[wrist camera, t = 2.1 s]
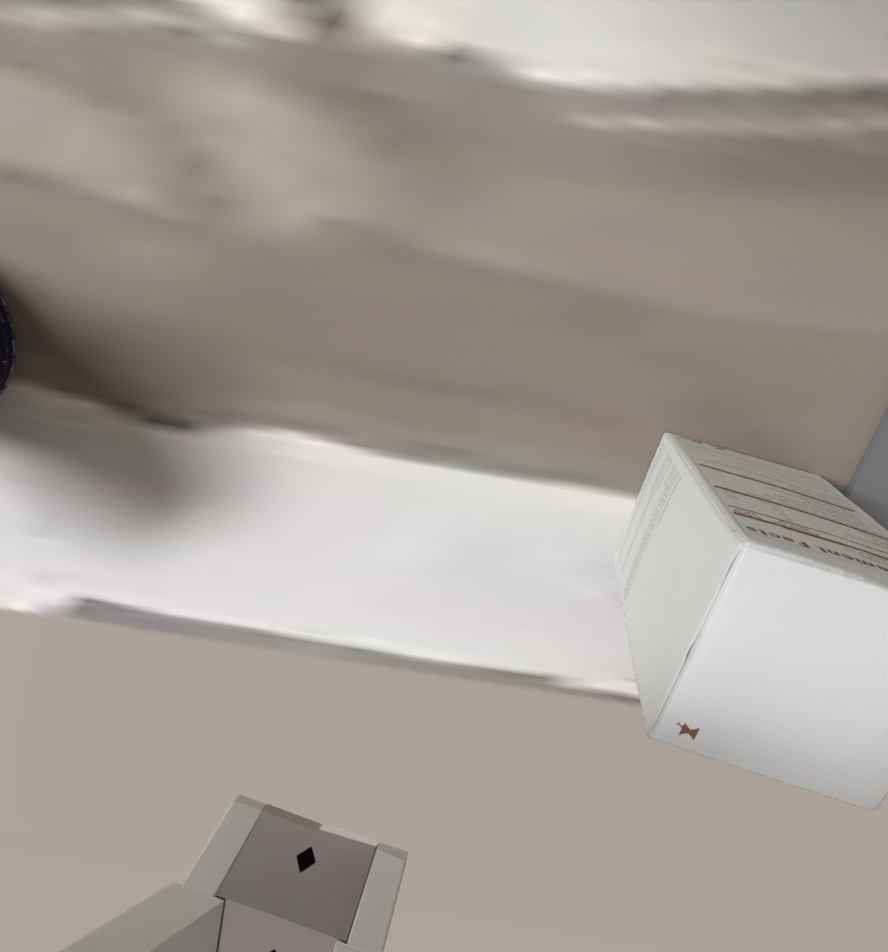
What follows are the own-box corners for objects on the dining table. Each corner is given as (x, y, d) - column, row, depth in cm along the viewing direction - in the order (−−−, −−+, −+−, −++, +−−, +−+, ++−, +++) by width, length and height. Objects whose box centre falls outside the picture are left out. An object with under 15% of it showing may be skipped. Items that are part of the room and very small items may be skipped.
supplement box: (753, 605, 30) (875, 823, 19) (608, 559, 31) (637, 742, 19) (824, 472, 28) (1021, 627, 16) (664, 424, 28) (739, 539, 16)
